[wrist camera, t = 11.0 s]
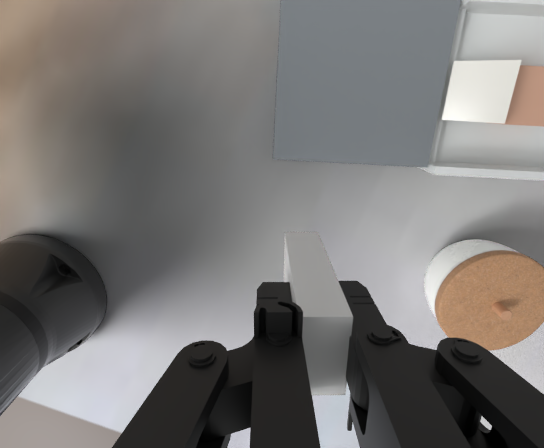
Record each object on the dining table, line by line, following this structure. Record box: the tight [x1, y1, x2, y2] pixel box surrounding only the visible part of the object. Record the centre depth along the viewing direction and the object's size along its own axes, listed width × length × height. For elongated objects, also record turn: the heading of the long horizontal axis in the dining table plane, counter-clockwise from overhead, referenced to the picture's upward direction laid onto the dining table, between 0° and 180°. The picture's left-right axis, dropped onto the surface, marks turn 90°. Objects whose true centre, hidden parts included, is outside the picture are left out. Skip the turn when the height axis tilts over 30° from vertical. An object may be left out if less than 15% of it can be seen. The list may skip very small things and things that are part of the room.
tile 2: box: [442, 60, 522, 124], centre depth 31 cm, size 5×5×2 cm
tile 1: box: [494, 65, 544, 127], centre depth 32 cm, size 5×5×2 cm
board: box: [273, 0, 461, 168], centre depth 32 cm, size 15×14×3 cm
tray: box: [418, 0, 544, 181], centre depth 32 cm, size 15×15×4 cm
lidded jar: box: [424, 239, 544, 350], centre depth 36 cm, size 11×11×9 cm
